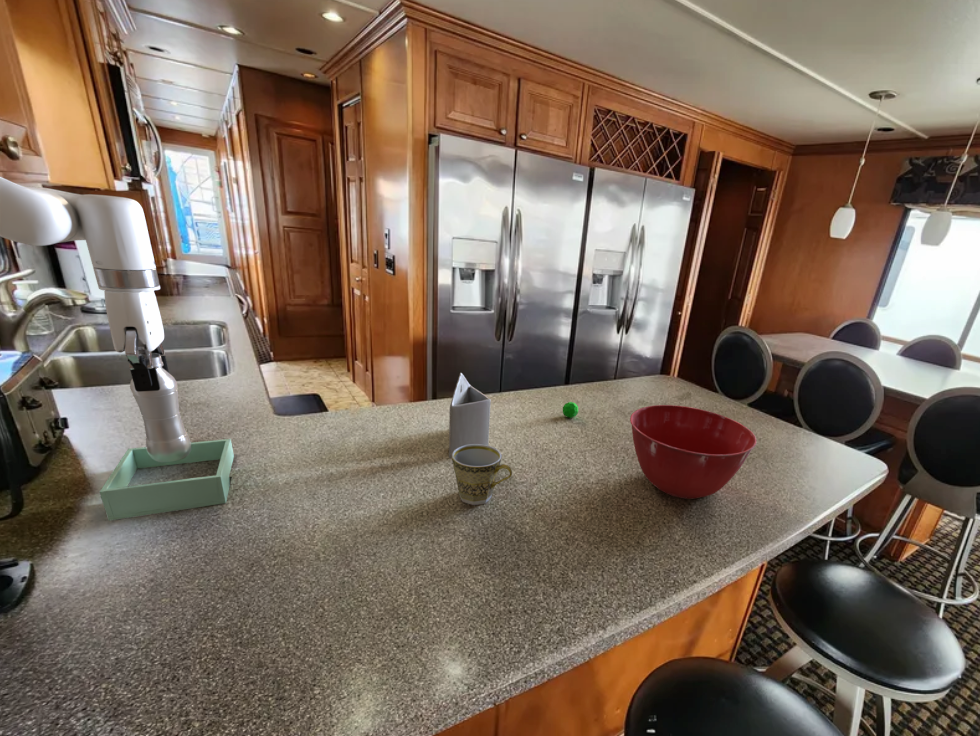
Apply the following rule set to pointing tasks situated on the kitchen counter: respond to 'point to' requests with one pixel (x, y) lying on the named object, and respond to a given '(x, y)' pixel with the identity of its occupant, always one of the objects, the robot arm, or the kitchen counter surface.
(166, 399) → the plastic bottle
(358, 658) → the kitchen counter surface
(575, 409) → the polyhedron
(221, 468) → the mint green tray frame
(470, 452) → the ceramic cup
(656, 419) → the mixing bowl
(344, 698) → the kitchen counter surface
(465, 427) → the planter
